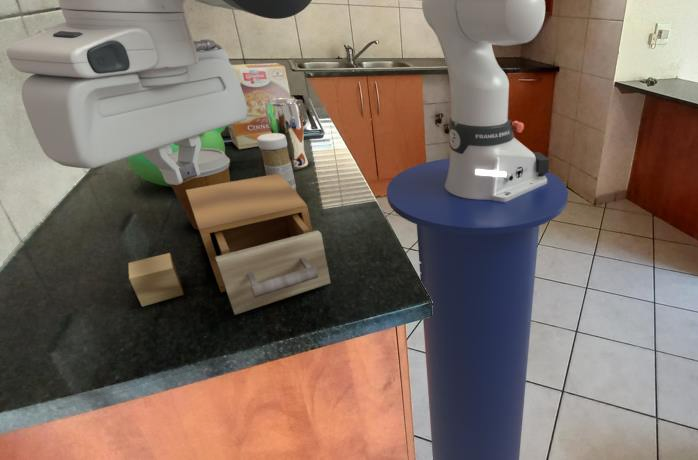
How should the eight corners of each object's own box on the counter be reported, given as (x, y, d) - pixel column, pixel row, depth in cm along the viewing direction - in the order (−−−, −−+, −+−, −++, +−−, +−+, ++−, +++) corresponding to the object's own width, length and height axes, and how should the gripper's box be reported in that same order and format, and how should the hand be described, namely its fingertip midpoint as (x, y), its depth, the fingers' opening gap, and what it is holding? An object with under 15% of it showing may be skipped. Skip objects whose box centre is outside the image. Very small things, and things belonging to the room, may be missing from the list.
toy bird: (162, 169, 95) (137, 101, 88) (247, 165, 99) (230, 100, 92) (122, 202, 79) (88, 124, 72) (224, 195, 84) (202, 121, 77)
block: (180, 279, 60) (170, 252, 57) (183, 294, 57) (172, 267, 54) (140, 290, 57) (128, 262, 55) (141, 307, 54) (128, 278, 52)
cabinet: (318, 263, 65) (307, 205, 60) (220, 292, 57) (198, 229, 53) (291, 225, 75) (279, 173, 70) (205, 246, 67) (185, 189, 63)
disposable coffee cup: (190, 213, 77) (168, 149, 71) (250, 208, 80) (233, 146, 74) (173, 238, 69) (146, 168, 63) (240, 231, 72) (220, 164, 66)
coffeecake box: (238, 149, 108) (217, 68, 99) (231, 143, 113) (210, 64, 103) (300, 140, 117) (285, 65, 108) (291, 134, 122) (276, 62, 112)
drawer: (342, 299, 56) (333, 248, 52) (242, 336, 49) (223, 280, 45) (301, 242, 68) (292, 197, 64) (216, 265, 61) (200, 216, 57)
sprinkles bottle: (290, 197, 85) (275, 130, 78) (305, 203, 83) (290, 135, 76) (268, 205, 81) (250, 136, 75) (283, 211, 79) (266, 141, 73)
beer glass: (308, 170, 98) (295, 104, 91) (275, 171, 96) (259, 104, 89) (312, 160, 104) (301, 97, 97) (281, 161, 102) (267, 97, 95)
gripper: (197, 36, 50) (228, 149, 57) (-22, 51, 32) (60, 215, 39) (246, 39, 49) (271, 154, 56) (49, 57, 31) (120, 223, 38)
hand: (184, 180), depth 47 cm, fingers closed
